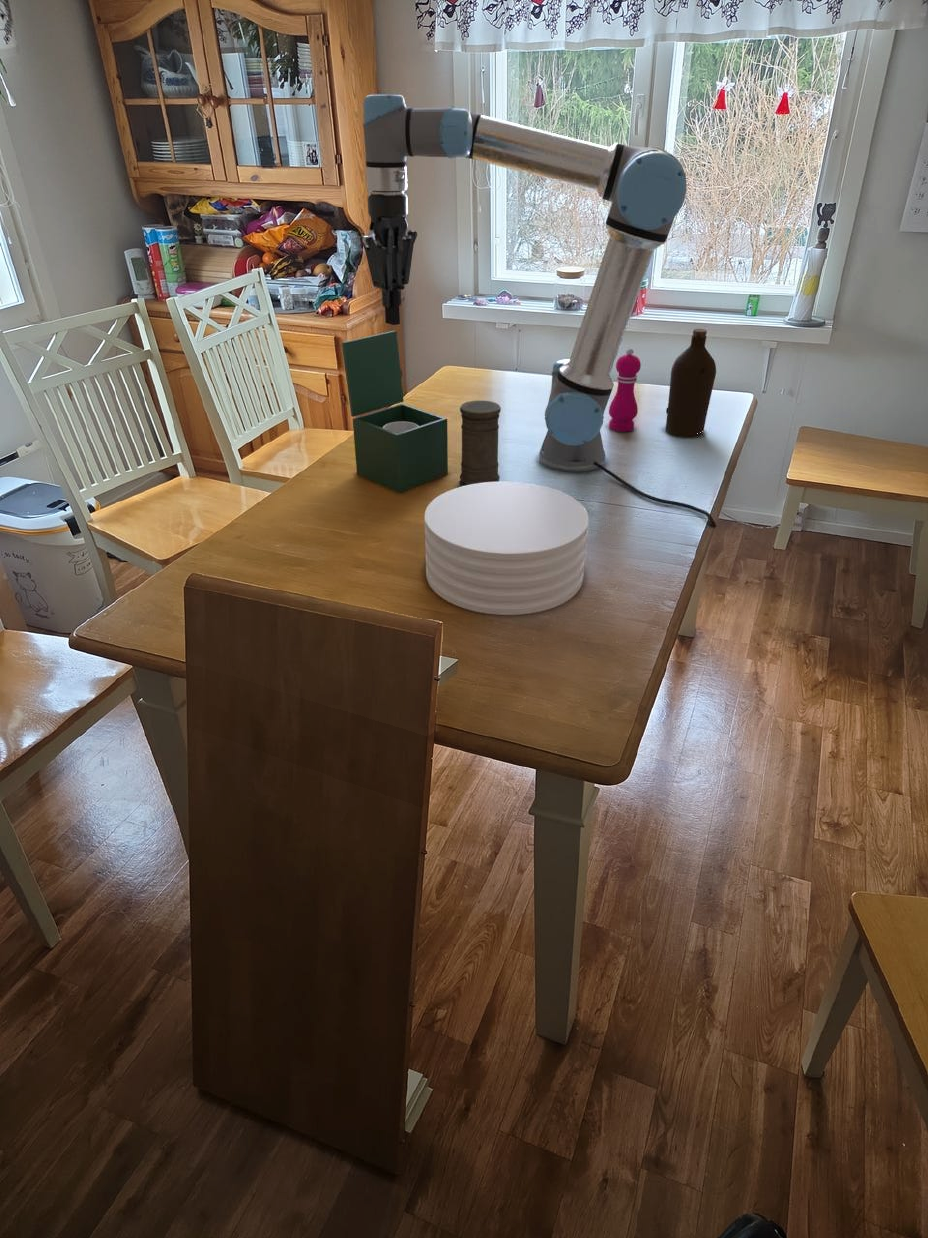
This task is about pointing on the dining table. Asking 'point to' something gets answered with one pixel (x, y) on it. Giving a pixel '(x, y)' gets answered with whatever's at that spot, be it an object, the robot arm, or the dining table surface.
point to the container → (479, 442)
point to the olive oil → (690, 389)
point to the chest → (401, 447)
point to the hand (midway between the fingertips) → (392, 323)
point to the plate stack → (505, 547)
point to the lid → (373, 372)
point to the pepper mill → (625, 393)
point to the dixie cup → (400, 426)
